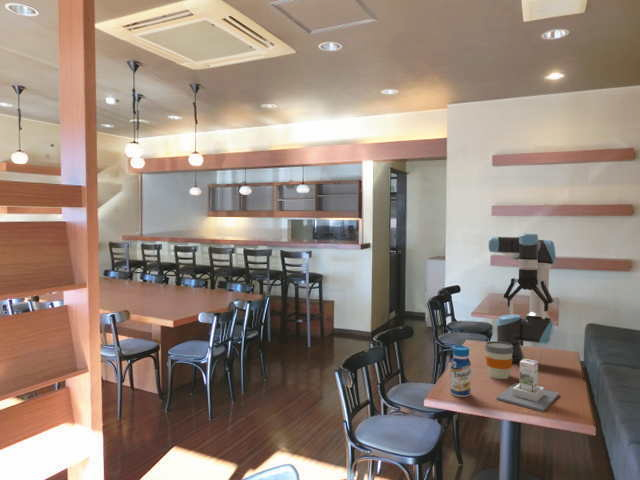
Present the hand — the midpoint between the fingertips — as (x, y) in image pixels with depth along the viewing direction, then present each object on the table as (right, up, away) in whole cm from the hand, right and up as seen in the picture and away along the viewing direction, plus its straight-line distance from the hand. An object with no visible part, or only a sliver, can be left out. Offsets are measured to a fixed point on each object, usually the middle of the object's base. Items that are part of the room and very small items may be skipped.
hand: (527, 316), depth 199 cm
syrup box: (-5, -31, -11) cm, 34 cm away
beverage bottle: (-32, -32, -7) cm, 46 cm away
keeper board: (-5, -32, -11) cm, 34 cm away
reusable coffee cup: (-7, -31, +15) cm, 35 cm away
